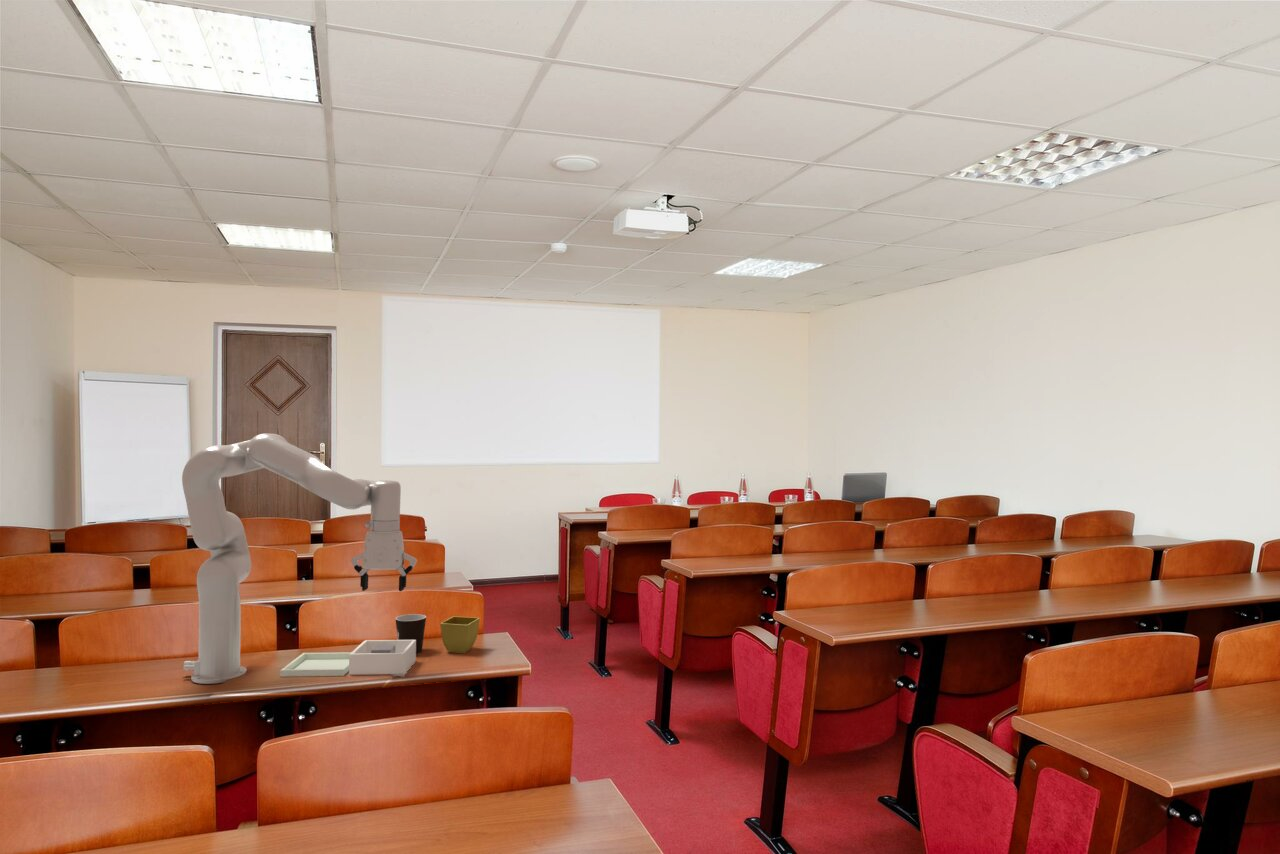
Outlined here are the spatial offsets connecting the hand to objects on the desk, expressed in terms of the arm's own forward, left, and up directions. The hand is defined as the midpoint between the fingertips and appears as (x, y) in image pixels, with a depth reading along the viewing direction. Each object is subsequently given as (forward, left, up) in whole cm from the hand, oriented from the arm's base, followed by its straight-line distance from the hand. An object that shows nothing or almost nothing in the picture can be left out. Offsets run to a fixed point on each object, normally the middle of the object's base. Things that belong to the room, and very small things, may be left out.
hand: (383, 590), depth 208 cm
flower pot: (+18, +17, -22) cm, 33 cm away
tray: (-16, 0, -21) cm, 26 cm away
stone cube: (0, 0, -21) cm, 21 cm away
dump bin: (0, 0, -21) cm, 21 cm away
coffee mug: (+4, +18, -22) cm, 28 cm away
